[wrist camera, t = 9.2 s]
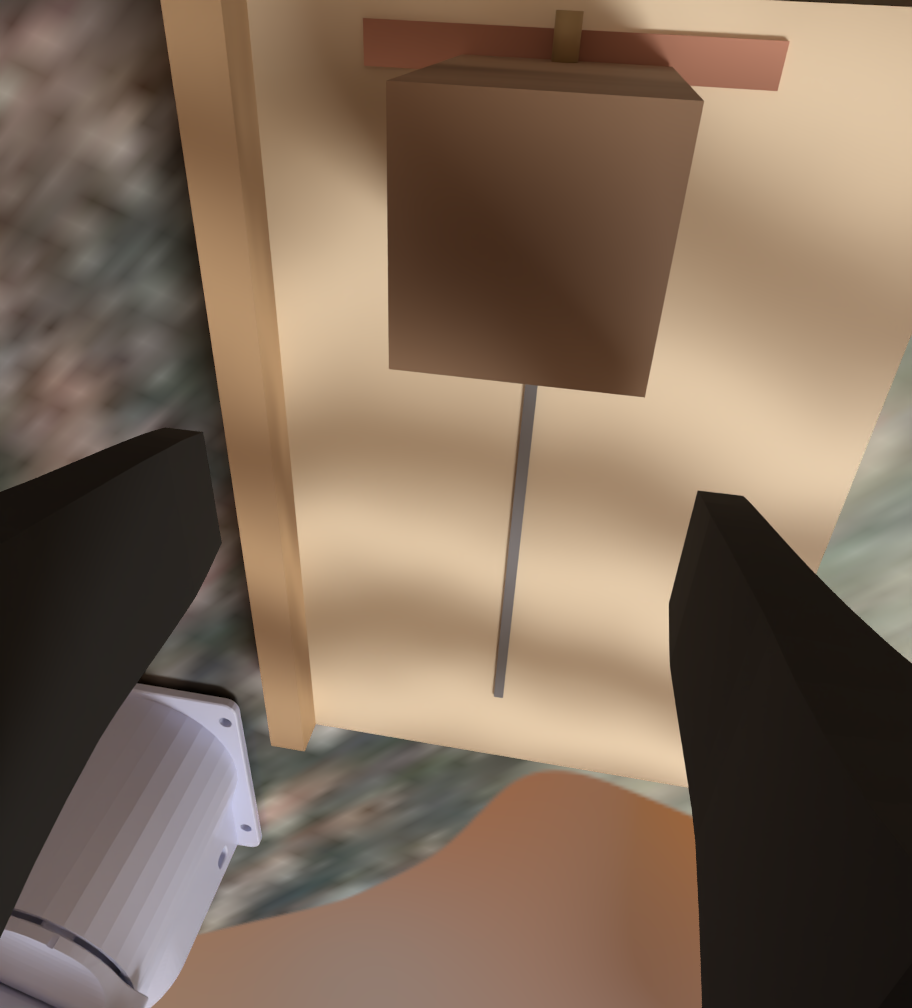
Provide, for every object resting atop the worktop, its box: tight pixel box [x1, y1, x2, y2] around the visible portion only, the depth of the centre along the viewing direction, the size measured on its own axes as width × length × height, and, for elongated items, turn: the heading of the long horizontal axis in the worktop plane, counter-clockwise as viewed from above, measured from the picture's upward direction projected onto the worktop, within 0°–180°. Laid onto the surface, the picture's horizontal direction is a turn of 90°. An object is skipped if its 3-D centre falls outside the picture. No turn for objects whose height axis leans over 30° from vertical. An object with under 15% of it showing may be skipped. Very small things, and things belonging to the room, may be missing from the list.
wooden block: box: [386, 10, 704, 398], centre depth 13 cm, size 5×4×6 cm
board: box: [160, 0, 912, 787], centre depth 20 cm, size 22×16×3 cm
